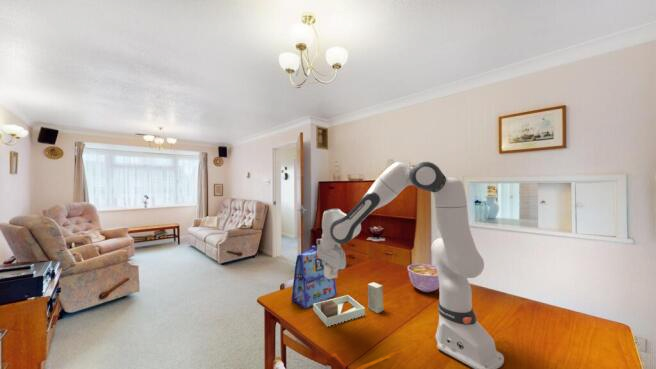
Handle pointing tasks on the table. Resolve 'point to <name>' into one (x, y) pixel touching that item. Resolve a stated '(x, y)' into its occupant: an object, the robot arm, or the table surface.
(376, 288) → the skincare box
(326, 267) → the cream cube
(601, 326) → the table surface
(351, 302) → the tray
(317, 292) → the lunch bag
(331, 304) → the walnut block
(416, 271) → the bowl of food
